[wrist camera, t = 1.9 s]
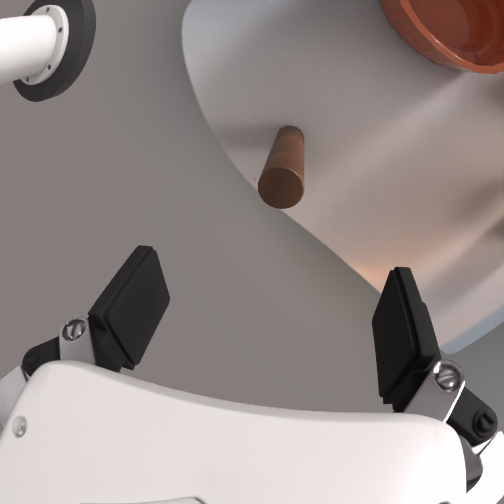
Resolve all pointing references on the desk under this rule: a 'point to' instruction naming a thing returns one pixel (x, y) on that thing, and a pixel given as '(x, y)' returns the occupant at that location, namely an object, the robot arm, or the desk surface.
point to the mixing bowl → (452, 31)
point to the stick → (284, 170)
